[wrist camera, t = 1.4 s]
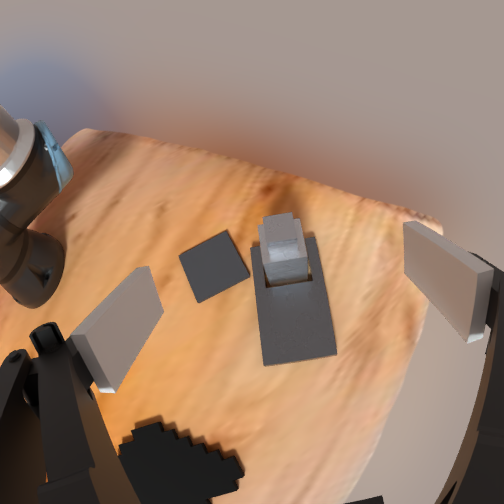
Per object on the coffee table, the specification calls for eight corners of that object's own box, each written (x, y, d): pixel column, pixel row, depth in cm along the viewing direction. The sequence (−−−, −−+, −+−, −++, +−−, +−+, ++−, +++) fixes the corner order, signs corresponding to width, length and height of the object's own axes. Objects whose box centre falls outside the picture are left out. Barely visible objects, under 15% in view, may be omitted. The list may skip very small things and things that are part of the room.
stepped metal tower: (307, 281, 41) (307, 244, 31) (270, 287, 41) (258, 252, 32) (301, 247, 43) (298, 203, 33) (266, 253, 44) (253, 211, 34)
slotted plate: (336, 355, 36) (337, 354, 35) (265, 366, 37) (263, 365, 36) (314, 241, 43) (314, 236, 42) (251, 251, 44) (250, 247, 43)
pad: (179, 257, 46) (178, 255, 45) (227, 232, 46) (226, 230, 45) (198, 303, 42) (197, 302, 41) (250, 276, 42) (249, 275, 42)
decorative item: (131, 552, 25) (79, 444, 34) (136, 549, 26) (85, 443, 35) (273, 531, 26) (207, 404, 35) (274, 526, 27) (211, 403, 36)
